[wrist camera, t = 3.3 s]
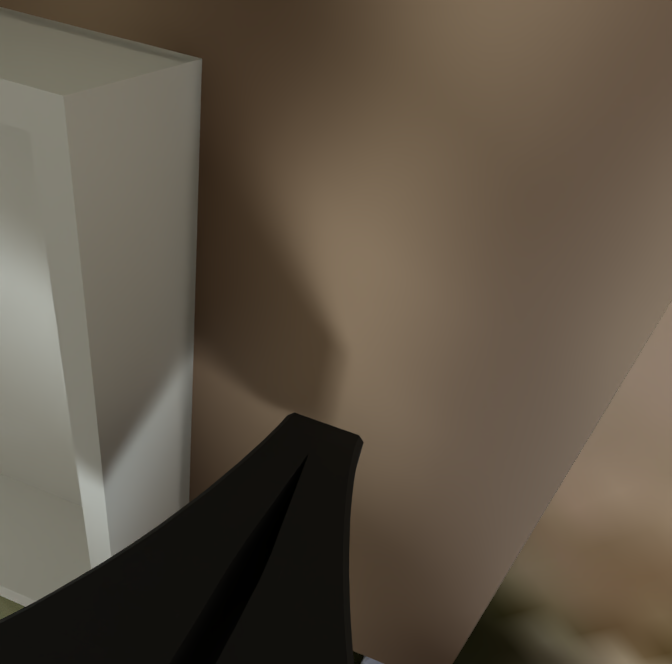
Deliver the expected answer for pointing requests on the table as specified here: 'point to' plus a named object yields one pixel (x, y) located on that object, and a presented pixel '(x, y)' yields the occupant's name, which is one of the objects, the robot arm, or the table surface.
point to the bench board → (421, 260)
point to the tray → (92, 295)
